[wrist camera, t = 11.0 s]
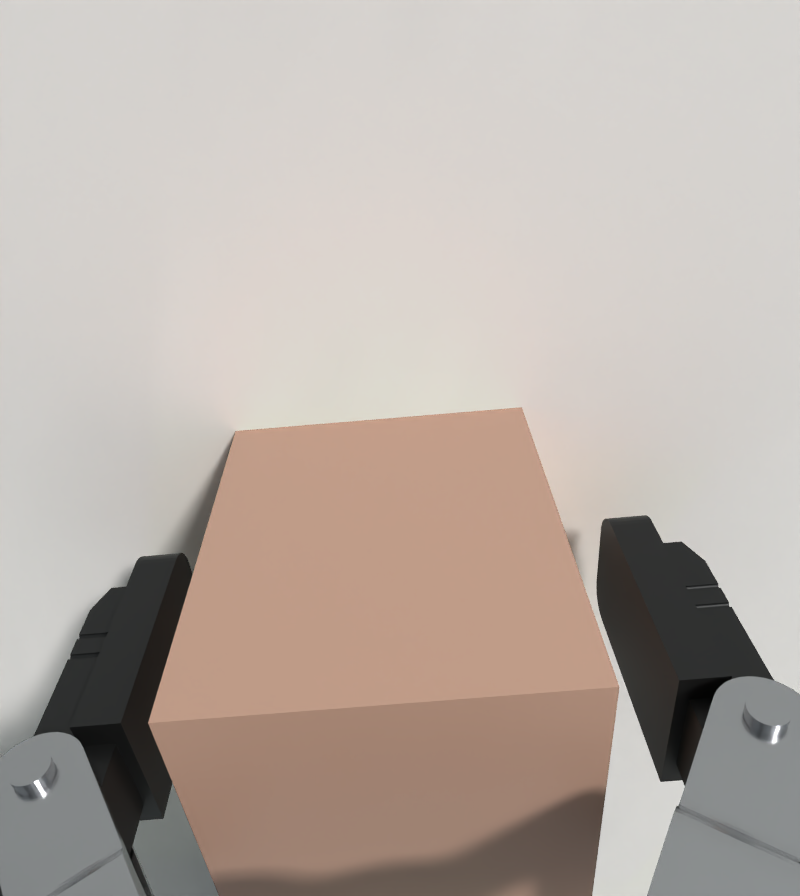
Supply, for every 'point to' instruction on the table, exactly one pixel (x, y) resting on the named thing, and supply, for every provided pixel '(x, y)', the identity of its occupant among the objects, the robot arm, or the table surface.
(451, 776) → the brick terracotta
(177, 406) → the table surface
